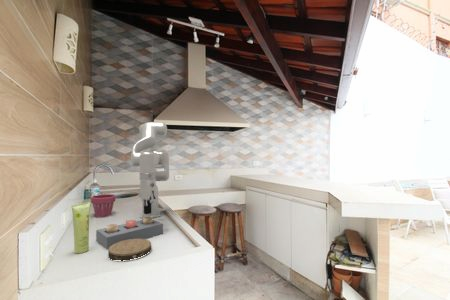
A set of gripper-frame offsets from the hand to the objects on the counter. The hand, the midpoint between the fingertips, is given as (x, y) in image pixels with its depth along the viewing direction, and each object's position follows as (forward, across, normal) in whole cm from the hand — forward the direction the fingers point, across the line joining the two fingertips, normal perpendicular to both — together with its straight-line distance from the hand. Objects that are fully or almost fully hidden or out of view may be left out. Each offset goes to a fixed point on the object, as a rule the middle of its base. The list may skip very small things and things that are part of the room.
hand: (147, 213), depth 116 cm
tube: (+10, 0, +29) cm, 31 cm away
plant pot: (+9, +55, +3) cm, 56 cm away
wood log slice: (+11, -16, +16) cm, 25 cm away
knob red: (+7, +1, +8) cm, 11 cm away
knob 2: (+7, +1, 0) cm, 7 cm away
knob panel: (+10, +1, +8) cm, 13 cm away
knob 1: (+7, +1, +17) cm, 18 cm away
